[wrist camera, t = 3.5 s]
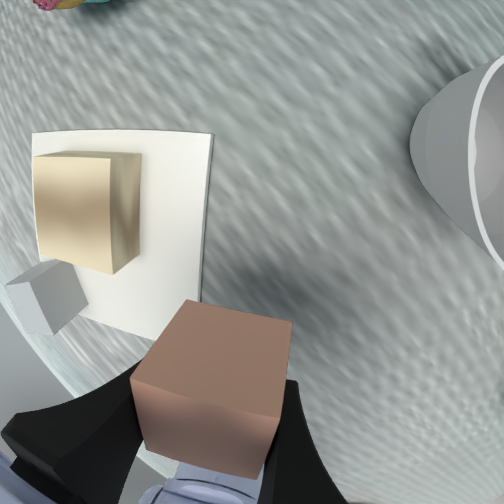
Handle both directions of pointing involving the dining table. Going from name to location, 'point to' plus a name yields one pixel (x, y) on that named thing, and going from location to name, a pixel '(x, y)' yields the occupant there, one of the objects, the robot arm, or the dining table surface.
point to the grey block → (46, 297)
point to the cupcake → (61, 3)
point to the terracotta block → (214, 388)
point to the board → (148, 226)
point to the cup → (466, 154)
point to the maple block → (88, 207)
